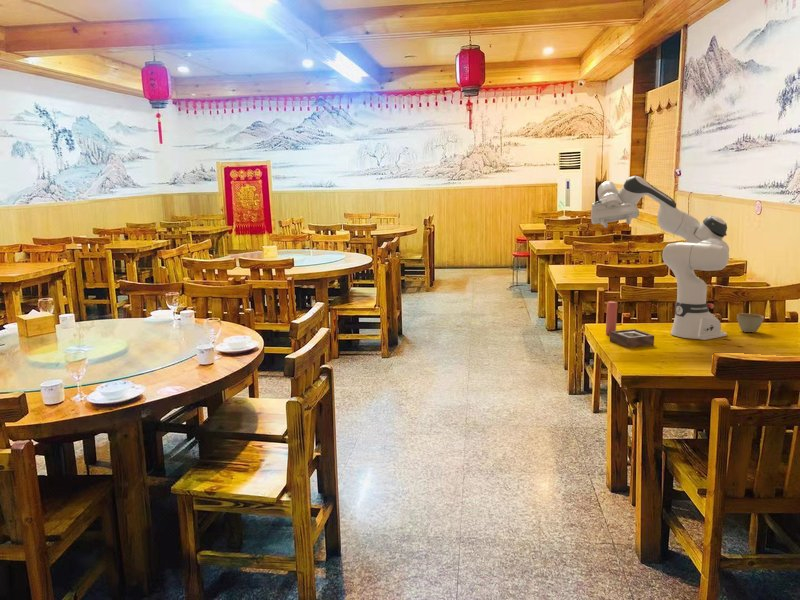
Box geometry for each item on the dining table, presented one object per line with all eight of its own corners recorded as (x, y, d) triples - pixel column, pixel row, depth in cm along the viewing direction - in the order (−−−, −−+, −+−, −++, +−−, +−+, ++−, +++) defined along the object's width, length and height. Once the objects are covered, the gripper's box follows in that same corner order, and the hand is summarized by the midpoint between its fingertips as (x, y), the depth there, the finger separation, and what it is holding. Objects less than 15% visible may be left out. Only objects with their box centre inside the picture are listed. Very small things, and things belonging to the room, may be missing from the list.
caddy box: (634, 338, 262) (634, 329, 261) (653, 345, 251) (654, 335, 250) (609, 340, 259) (610, 331, 258) (628, 348, 247) (628, 338, 247)
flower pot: (756, 335, 264) (758, 319, 263) (731, 331, 271) (733, 315, 270) (765, 331, 270) (767, 315, 269) (741, 328, 278) (742, 312, 277)
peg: (611, 333, 271) (613, 301, 269) (617, 335, 268) (619, 302, 265) (603, 333, 270) (605, 301, 268) (609, 336, 267) (611, 303, 264)
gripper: (635, 208, 283) (642, 226, 273) (588, 215, 287) (593, 233, 277) (636, 196, 278) (642, 214, 268) (588, 204, 283) (593, 222, 273)
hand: (617, 224), depth 273 cm, fingers open, 8 cm apart
